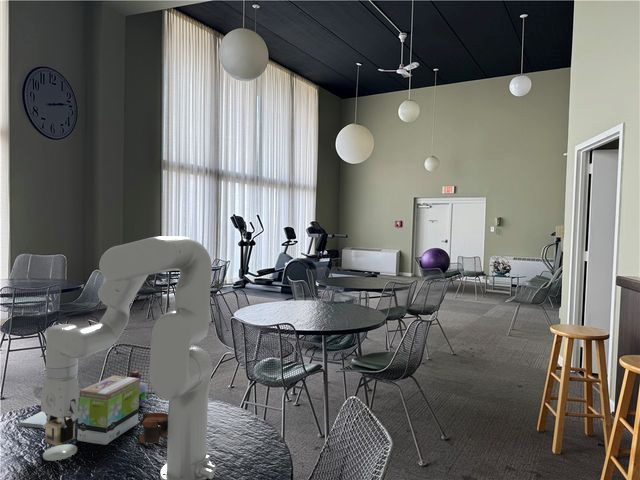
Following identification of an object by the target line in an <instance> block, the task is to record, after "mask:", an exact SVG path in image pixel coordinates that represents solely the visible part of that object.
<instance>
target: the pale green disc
mask: <svg viewBox="0 0 640 480" xmlns="http://www.w3.org/2000/svg"><path fill="white" fill-rule="evenodd" d="M76 453H78V447H77V446H76V445H75V444H69V443H66V444H65V443H63V444H60V445H58V446H55V445H54V446H53V447H50V448H47V449H46V450H45V451H44V452H43V453H42V458H43V460H45V461H49V462H55V461H56V460H58V461H63V460H65V459H68V457H69V458H71V457H72V455H73V456H75V454H76ZM62 459H63V460H62ZM56 462H57V461H56Z"/></svg>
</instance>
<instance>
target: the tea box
mask: <svg viewBox="0 0 640 480" xmlns="http://www.w3.org/2000/svg"><path fill="white" fill-rule="evenodd" d="M140 382H141V379H139V378H132V377H128V376H123V375H122V376H121V375H111V376H109V377H106V378H104V379H103V380H100V381H98V382H96V383H93V384H91V385H89V386H87V387H85V388H83V389H81V390H79V409H78V412H79V414H80V418H79V419H77V438H76V439H77V441H79V442H84V443H90V444H97V445H98V444H99V445H104V446H105V445H108V444H109V443H111V442H112V441H113V440H115V439H116V438H119V437H120V436H121V435H122V434H125V433H126V432H128V431H129V430H130V429H132V428H133V427H135V426H137V425H139V410H140V408H139V389H140Z"/></svg>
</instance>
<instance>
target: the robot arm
mask: <svg viewBox="0 0 640 480" xmlns="http://www.w3.org/2000/svg"><path fill="white" fill-rule="evenodd" d="M98 264H99V266H98V267H99V272H100V274H101V275H102V277H103V278H105V279H104V281H103V283H102V284H101V286H100V287H99V289H98V290H97V297H98V299H99V300H100V302H102V304H104V305H105V306H107V308H106V310H105V312H104V313H103V316H101V319H100V320H99V321H98V323H95V324H92V325H87V326H84V327H80V328H78V326H77V325H75V324H72V323H71V324H70V323H62V324H61V323H60V324H55V325H52V326H50V327H48V329H47V330H46V346H45V347H46V348H45V350H46V351H45V375H44V379H43V381H42V382H43V383H42V387H41V397H40V398H41V399H40V410H41V411H43V412H44V413H45V414H46V416H47V418H46V421H47V422H49V421H52V420H55V419H57V418H61V420H62V428H61V432H60V442H61V443H63V444H65V443H67V442H69V441H68V440H70V441H72V440H73V439H72V438H73V425H74V424H75V425H76V421H78V419H79V418H80V414H79V396H80V390H79V389H80V388H79V381H78V371H79V370H78V369H79V363H78V362H79V359H84V358H87V357H90V356H92V355H94V354H96V353H97V354H98V353H99V352H102V351H105V350H107V349H110V348H111V347H112V346H113V345H115V343H116V342H117V341H118V340H119V338H120V337H121V335H122V333H123V332H124V331H125V329H126V327H127V325H128V323H129V321H130V314H131V312H130V311H131V309H130V306H131V303H132V302H133V300H134V299H135V297H136V296H137V293H138V292H139V291H140V289H141V288H142V287H143V285H144V283H145V281H146V280H147V278H148V277H149V275H155V274H159V273H165V272H172V271H179V277H178V279H177V281H176V286H175V291H174V294H175V295H174V297H175V298H174V307H173V310H171V311H168V312H166V313H163V314H162V315H161V316H159V318H158V319H157V320H156V321H155V323H154V325H153V327H152V330H151V334H150V351H149V352H150V353H149V371H148V372H149V384H150V387H151V389H152V392H153V393H154V394H155V396H157V397H158V398H159V399H161V400H164V401H168V409H167V410H168V411H167V412H168V413H167V414H168V435H167V443H166V444H167V445H166V446H167V449H166V450H167V451H166V453H167V454H166V455H167V456H166V463H165V464H164V465H163V466H162V468H160V471H159V472H160V473H159V477H160V480H207V479H210V480H211V479H213V478H214V475H215V472H216V471H217V468H218V467H217V465H215V464H212V462H211V460H210V455H209V454H207V446H208V444H207V442H208V441H207V438H208V410H209V409H208V408H209V392H210V384H211V378H212V373H213V363H212V359H211V356H210V355H209V353H208V352H207V351H206V350H205V349H204V348H201V347H198V346H193V345H196V344H198V343H199V342H201V341H203V340H204V339H205V338H206V337H207V335H208V334H209V330H210V311H211V287H212V274H213V273H212V272H213V268H212V266H213V265H212V259H211V256H210V254H209V252H208V251H207V249H206V248H205V246H204V245H203V244H202V243H200V242H199V241H197V240H196V239H193V238H191V237H188V236H180V235H177V236H176V235H173V236H153V237H148V238H143V239H140V240H135V241H131V242H128V243H124V244H120V245H115V246H111V247H110V248H108V249H107V250H106V251H104V253H103V254H102V255H101V257H100V260H99V263H98ZM68 412H69V414H68ZM66 417H67V418H70V419H68V420H67V421H66ZM71 439H72V440H71ZM66 441H67V442H66ZM64 442H65V443H64Z"/></svg>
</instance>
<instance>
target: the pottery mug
mask: <svg viewBox="0 0 640 480" xmlns="http://www.w3.org/2000/svg"><path fill="white" fill-rule="evenodd" d="M138 425H139V426H142V427H143V433H141V434H139V436H138V438H139V442H138V443H140V444H143V443H147V444H152V443H153V444H154V443H160V439H161V437H162V439H165V438H168V413H166V412H148V413H143V414H142V418H141V420H140V421H138Z"/></svg>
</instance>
